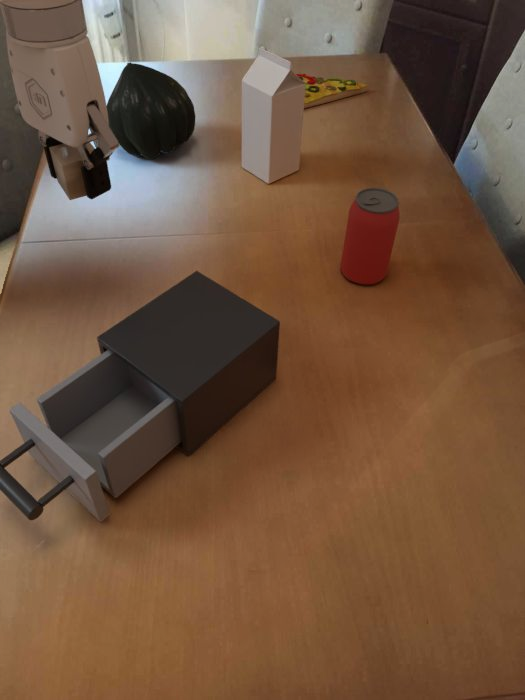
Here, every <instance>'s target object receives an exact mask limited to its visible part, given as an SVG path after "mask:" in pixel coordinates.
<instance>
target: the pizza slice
mask: <svg viewBox="0 0 525 700" xmlns="http://www.w3.org/2000/svg"><path fill="white" fill-rule="evenodd" d="M295 74H296V75H297V76H298V77H299V78H300V79H301V80H302V81H303V82H304V83H305V84H306V86H305V100H304V109H307V108H311V107H316V106H320V105H323V104H327V103H330V102H334V101H337V100H341V99H345V98H347V97H348V98H349V97H351V96H356V95H359V94H364V93H366V92H367V91H368V88H369V85H368V84H364V83H360V82H359V81H356V80H354V79H345V80H343V79H342V78H340V77H338V78H337V77H331V78H326V79H324V78H323V77H321V76H319V77H316V76H310V75H307V74H306V73H295Z"/></svg>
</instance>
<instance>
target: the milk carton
mask: <svg viewBox="0 0 525 700" xmlns="http://www.w3.org/2000/svg"><path fill="white" fill-rule="evenodd" d="M292 69H293V64H292V61H290V60H287V59H285V58H284V57H281V56H279V55H277V54H274V53H272V52H271V51H268V50H266V49H264V48H262V47H259V48H258V55H257V56H256V58H255V60H254V61H253V62H252V64H251V65H250V67H249V68H248V70H247V71H246V73H245V74H244V76H243V78H242V79H241V168H242V169H244V170H246V171H247V172H249V173H250V174H252V175H253V176H255V177H257V178H258V179H260V180H261V181H263V182H264V183H266V184H268V185H269V184H272V183H274V182H276V181H279V180H280V179H283V178H285V177H287V176H290V175H292V174H293V173H296V172H298V171H299V170H300V161H301V150H302V149H301V147H302V136H303V123H304V110H305V108H304V100H305V86H306V84H305V83H304V82H303V81H302V80H301V79H300V78H299V77H298V76H297V75H296V74H297V73H295V72H294V71H293V70H292Z"/></svg>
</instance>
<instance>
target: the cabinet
mask: <svg viewBox="0 0 525 700" xmlns="http://www.w3.org/2000/svg"><path fill="white" fill-rule="evenodd" d="M280 326H281V321H280V320H279V319H277V318H275V317H274V316H272V315H270V314H269V313H267V312H265V311H264V310H262V309H260V308H259V307H257V306H256V305H254V304H252V303H251V302H249V301H247V300H245V298H243V297H241V296H239V295H237V294H236V293H234V292H232V291H231V290H230V289H228V288H226V287H224V286H223V285H221V284H219V283H218V282H216V281H215V280H213V279H211V278H210V277H208V276H206V275H205V274H203V273H202V272H200V271H198V270H196V271H194V272H192V273H191V274H189V275H187V276H186V277H185V278H183V279H182V280H181V281H179V282H177V283H176V284H175V285H173V286H171V287H170V288H169V289H167V290H166V291H164V292H162V293H161V294H160V295H158V296H157V297H155V298H153V299H152V300H150V301H149V302H147V303H146V304H144V305H143V306H141V307H140V308H138V309H137V310H136V311H134V312H132V313H131V314H129V315H128V316H126V317H125V318H123V319H122V320H120V321H119V322H118V323H116V324H114V325H113V326H111V327H110V328H109V329H106V330H105V331H103V332H102V333H100V334H99V335H98V336H97V337H96V341H97V344H98V348H99V351H100V355H101V354H103V353H104V352H106V351H107V350H109V351H110V352H111V353H113V354H114V355H115V356H117V357H118V358H119V359H121V360H122V361H123V362H125V363H126V364H127V365H129V366H130V367H131V368H133V369H134V370H135V371H137V372H138V373H139V374H141V375H142V376H143V377H144V378H146V379H147V380H148V381H150V382H151V383H152V384H154V385H155V386H156V387H158V388H159V389H160V390H162V391H163V392H164V393H166V394H167V395H168V396H170V397H171V398H172V399H174V400H175V401H176V402H177V405H178V413H179V421H180V429H181V438H182V442H180V443H179V444H178V445H177V446H176V447H175V448H176V449H178V450H179V451H180V452H181V453H182V454H184V455H185V456H186V457H188V458H189V457H190V456H191V455H193V454H194V453H195V452H196V451H197V450H199V448H201V447H202V446H203V445H204V444H205V443H206V442H207V441H208V440H209V439H210V438H211V437H213V436H214V435H215V434H216V433H217V432H218V431H220V429H222V428H223V427H224V426H225V425H226V424H228V423H229V422H230V421H231V419H233V418H234V417H235V416H236V415H237V414H239V413H240V412H241V411H242V410H243V409H245V408H246V406H247V405H248V404H250V403H251V402H252V401H253V400H255V398H257V397H258V396H259V395H260V394H261V393H262V392H263V391H264V390H265V389H267V388H268V387H269V386H270V385H271V384H272V383H274V382H275V380H277V372H278V371H277V369H278V358H279V357H278V356H279V355H278V354H279V343H280V342H279V341H280V328H281V327H280Z"/></svg>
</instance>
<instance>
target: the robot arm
mask: <svg viewBox="0 0 525 700" xmlns="http://www.w3.org/2000/svg"><path fill="white" fill-rule="evenodd" d="M0 11H1V14H2V19H3V22H4V25H5V34H6V35H5V37H6V39H5V40H6V50H7V57H8V63H9V67H10V68H9V69H10V73H11V77H12V83H13V87H14V92H15V96H16V100H17V103H18V104H17V105H18V108H19V112H20V114H21V118H22V119H23V121H24V122H25V123H26V124H27V125H29V126H31V127H32V128H34V129H36V130H37V132H38V140H39V143H40V144H41V145H42V146H43V150H44V154H45V158H46V162H47V166H48V170H49V174H50V177H51V178H53V179H55V180H57V177H56V173H55V169H54V165H53V161H52V157H51V153H50V149H49V147H52V146H57V145H61V144H66V145H68V146H71V147H77V149H78V152H79V154H80V157H81V159H82V161H83V164H84V166H82V167H81V172H82V176H83V181H84V186H85V190H86V195H87V196H86V198H88V199H89V200H94V199H95V198H98V197H100V196H102V195H103V194H105V193H107V192H109V191H110V190H111V189H112V183H111V177H110V171H109V167H108V161H109V160H110V157H111V156H112V155H113V153H114V152H115V151H116V150H117V149H118V148H119V147H120V144H119V142H118V140H117V139H116V137H115V135H114V134H113V132H112V131H111V129H110V127H109V120H108V112H107V101H106V96H105V92H104V91H105V90H104V87H103V83H102V79H101V78H102V77H101V74H100V70H99V67H98V64H97V60H96V56H95V53H94V49H93V47H92V44H91V41H90V37H89V36H87V35H88V32H89V31H88V27H87V20H86V14H85V7H84V2H83V0H0ZM89 132H90V133H89ZM92 142H93V145H94V148H95V149H94V150H93V151H92V153H91V154H90V153H89V151H88V148H87V146H86V144H87V143H92Z"/></svg>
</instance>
